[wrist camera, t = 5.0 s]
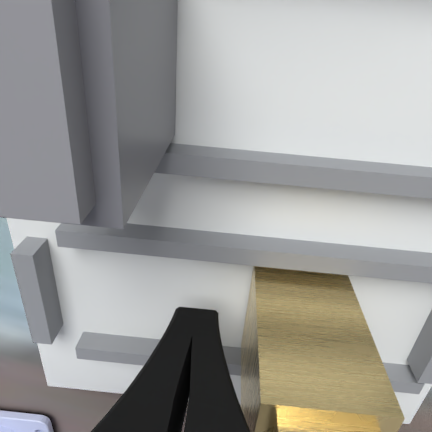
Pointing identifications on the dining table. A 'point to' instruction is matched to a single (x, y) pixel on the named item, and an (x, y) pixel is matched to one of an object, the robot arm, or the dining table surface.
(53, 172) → the slider graphite
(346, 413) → the slider brass
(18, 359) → the dining table surface
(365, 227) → the control board
